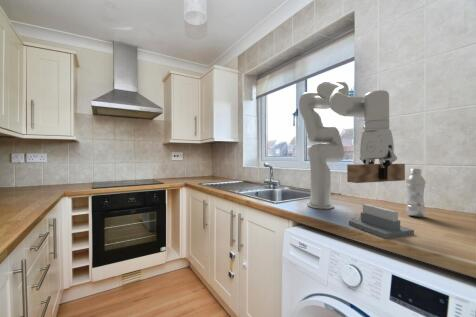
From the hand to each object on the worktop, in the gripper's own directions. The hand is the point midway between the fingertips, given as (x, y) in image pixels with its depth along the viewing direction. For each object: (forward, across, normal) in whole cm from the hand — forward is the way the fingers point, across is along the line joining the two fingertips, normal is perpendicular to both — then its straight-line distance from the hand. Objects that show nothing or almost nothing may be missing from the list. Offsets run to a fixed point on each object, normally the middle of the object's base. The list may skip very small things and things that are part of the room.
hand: (377, 178), depth 79 cm
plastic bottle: (+18, -7, +29) cm, 35 cm away
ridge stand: (+18, +1, 0) cm, 18 cm away
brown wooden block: (+1, 0, 0) cm, 1 cm away
